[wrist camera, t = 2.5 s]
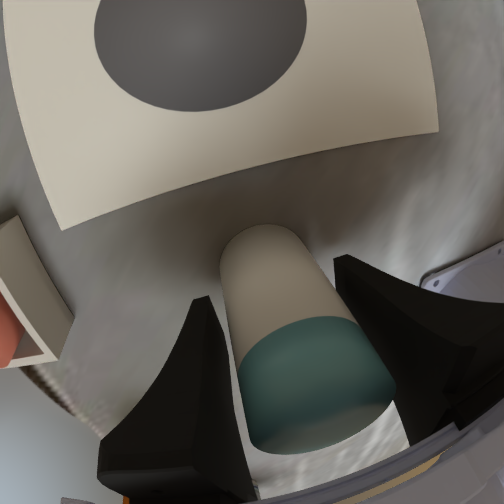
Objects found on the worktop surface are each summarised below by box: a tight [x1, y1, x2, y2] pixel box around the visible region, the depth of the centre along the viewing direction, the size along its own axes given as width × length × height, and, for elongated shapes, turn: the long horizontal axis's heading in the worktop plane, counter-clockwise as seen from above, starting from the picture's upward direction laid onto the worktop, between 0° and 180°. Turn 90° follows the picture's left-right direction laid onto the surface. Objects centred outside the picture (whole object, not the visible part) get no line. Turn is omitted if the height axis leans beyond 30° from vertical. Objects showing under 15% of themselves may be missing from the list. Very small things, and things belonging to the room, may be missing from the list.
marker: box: [219, 224, 396, 455], centre depth 10 cm, size 4×4×8 cm
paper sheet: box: [3, 0, 439, 231], centre depth 8 cm, size 18×13×1 cm
